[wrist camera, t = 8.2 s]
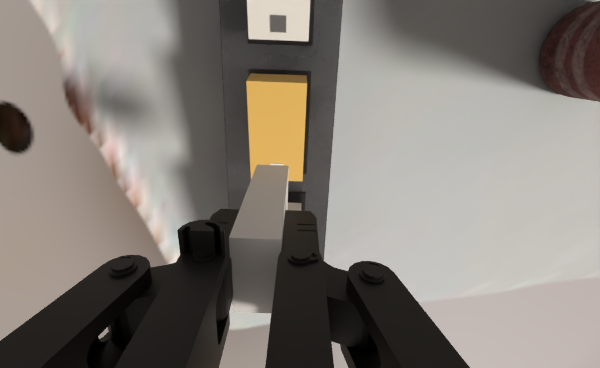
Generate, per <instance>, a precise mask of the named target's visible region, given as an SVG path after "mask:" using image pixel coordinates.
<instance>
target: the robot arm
mask: <svg viewBox="0 0 600 368" xmlns="http://www.w3.org/2000/svg"><path fill="white" fill-rule="evenodd" d="M288 172H289V166H283V165H257V166H256V168H255V171H254V174H253V176H252V179H251V181H250V184H249V187H248V189H247V192H246V194H245V197H244V200H243V202H242V205H241V207H240V209H220V210H219V211H217V212H216V213H214V214H213V215H212V217H211V218H210V220H198V221H193V222H189V223H187V224H185V225H183V226H182V227H180V228H179V229H178V238H179V246H180V256H179V258H178V260H177V262H176V263H173V264H169V265H163V266H157V267H151V268H150V262H149V261H148V260H147V258H145V257H142V256H140V255H127V256H121V257H118V258H115V259H112V260H110V261H108V262H107V263H105V264H103V265H102V266H100V267H99V268H98V269H97V270H95V271H94V272H92V273H91V274H90V275H88V276H87V277H86V278H84V279H83V280H82V281H80V282H79V283H78V284H76V285H75V286H74V287H72V288H71V289H70V290H68V291H67V292H65V293H64V294H63V295H61V296H60V297H59V298H57V299H56V300H55V301H54V302H52V303H51V304H50V305H48V306H47V307H45V308H44V309H43V310H41V311H40V312H39V313H37V314H36V315H34V316H33V317H32V318H31V319H29V320H28V321H26V322H25V323H24V324H23V325H21V326H20V327H18V328H17V329H16V330H14V331H13V332H12V333H10V334H9V335H8V336H6V337H5V338H3V339H2V340H1V341H0V368H219V364H220V360H221V357H222V352H223V349H224V345H225V341H226V337H227V333H228V329H229V325H230V318H229V310H230V306H231V302H232V309H233V312H250V313H272V314H271V323H270V332H269V341H268V349H267V358H266V367H265V368H334V364H333V354H332V344H331V341H333V342H336V343H339V344H340V346H341V351H342V353H343V355H344V358H345V360H346V362H347V365H348V367H349V368H470V367H469V366H468V365H467V364H466V362H465V361H464V360H463V359H462V358H461V356H460V355H459V354H458V352H457V351H456V350H455V349H454V347H453V346H452V345H451V344H450V342H449V341H448V340H447V339H446V338H445V336H444V335H443V333H442V332H441V331H440V330H439V328H438V327H437V326H436V325H435V323H434V322H433V321H432V320H431V319H430V317H429V316H428V315H427V313H426V312H425V311H424V310H423V309H422V307H421V306H420V305H419V303H418V302H417V301H416V300H415V298H414V297H413V296H412V295H411V293H410V292H409V291H408V290H407V288H406V287H405V286H404V285H403V283H402V282H401V281H400V280H399V278H398V277H397V276H396V275H395V273H394V272H393V271H392V270H390V269H389V268H388V267H386V266H384V265H382V264H380V263H376V262H372V261H361V262H357V263H355V264H353V265H352V266H350V268H349V270H348V271H345V270H341V269H337V268H334V267H332V266H330V265H328V264H327V263H326V262H324V261H323V258H322V256H321V254H320V251H319V241H318V232H317V231H318V230H317V219H316V216H315V215H314V214H313V213H312V212H311V211H297V210H288ZM106 327H108V330H109V332H108V333H107V334H106V335H105V336H104V337H103V338H101V339H99V338H98V336H99V335H100V334H101V333H102V332H103V331H104V330H105V329H106Z"/></svg>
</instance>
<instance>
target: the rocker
mask: <svg viewBox="0 0 600 368" xmlns="http://www.w3.org/2000/svg"><path fill="white" fill-rule="evenodd" d="M247 15H248V37H249V39H260V40H285V41H308V40H309V18H310V0H247Z"/></svg>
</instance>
